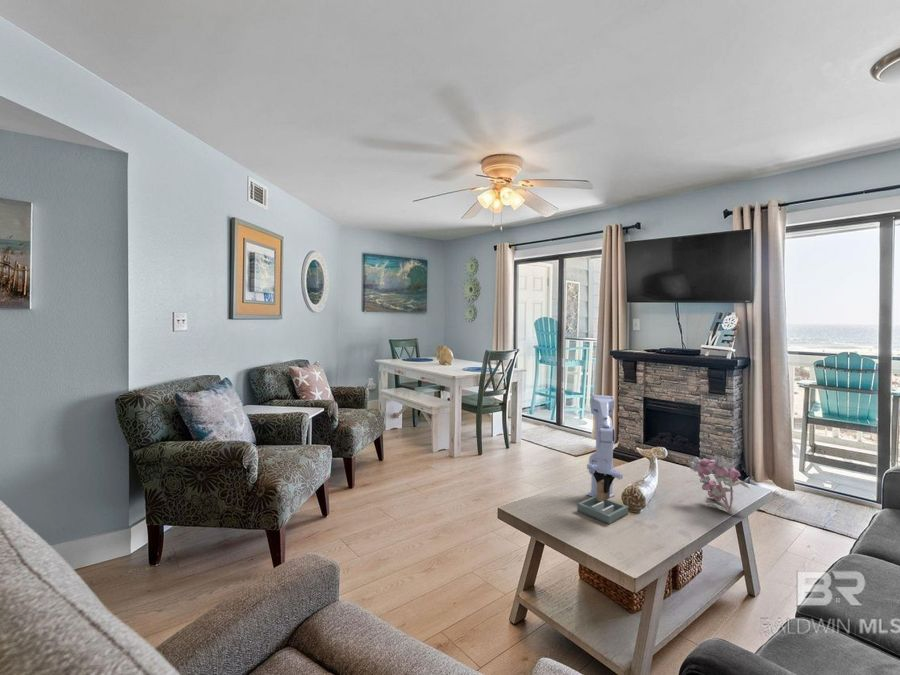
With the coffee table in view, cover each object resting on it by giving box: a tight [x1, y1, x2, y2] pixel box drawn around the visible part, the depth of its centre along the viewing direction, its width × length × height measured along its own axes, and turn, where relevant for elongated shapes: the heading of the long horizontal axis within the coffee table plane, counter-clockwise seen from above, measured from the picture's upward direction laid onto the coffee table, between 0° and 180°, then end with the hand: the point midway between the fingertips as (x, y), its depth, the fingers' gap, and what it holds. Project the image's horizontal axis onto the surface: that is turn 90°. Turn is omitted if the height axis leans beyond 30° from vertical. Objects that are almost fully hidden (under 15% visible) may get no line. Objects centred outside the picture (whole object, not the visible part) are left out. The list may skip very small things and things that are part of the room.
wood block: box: [597, 479, 611, 502], centre depth 176 cm, size 6×2×8 cm, turn 130°
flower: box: [687, 454, 750, 516], centre depth 185 cm, size 20×22×24 cm
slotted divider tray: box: [576, 495, 629, 525], centre depth 176 cm, size 14×14×3 cm
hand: (603, 491), depth 176 cm, fingers closed on wood block, 2 cm apart
